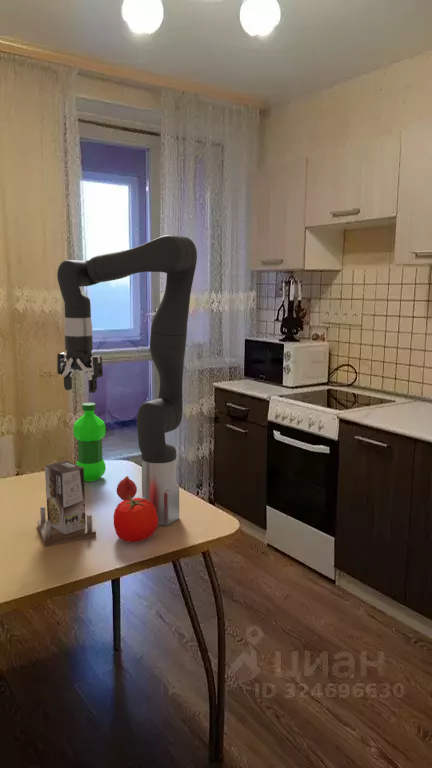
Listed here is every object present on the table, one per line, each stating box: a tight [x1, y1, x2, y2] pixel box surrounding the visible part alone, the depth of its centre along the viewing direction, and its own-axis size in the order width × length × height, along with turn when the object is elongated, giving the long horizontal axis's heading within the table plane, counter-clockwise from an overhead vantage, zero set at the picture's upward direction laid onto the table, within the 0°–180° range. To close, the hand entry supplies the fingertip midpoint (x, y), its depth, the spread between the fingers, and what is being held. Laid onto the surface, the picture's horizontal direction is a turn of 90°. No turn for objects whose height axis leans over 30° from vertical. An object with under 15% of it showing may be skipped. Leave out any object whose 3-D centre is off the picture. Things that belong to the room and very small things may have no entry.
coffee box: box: [44, 460, 86, 534], centre depth 147 cm, size 9×6×16 cm
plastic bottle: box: [72, 402, 107, 482], centre depth 186 cm, size 10×10×25 cm
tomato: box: [112, 496, 159, 543], centre depth 144 cm, size 12×12×10 cm
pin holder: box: [37, 506, 97, 547], centre depth 148 cm, size 13×13×6 cm
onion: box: [116, 475, 138, 501], centre depth 168 cm, size 6×6×8 cm
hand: (80, 391), depth 162 cm, fingers open, 8 cm apart
